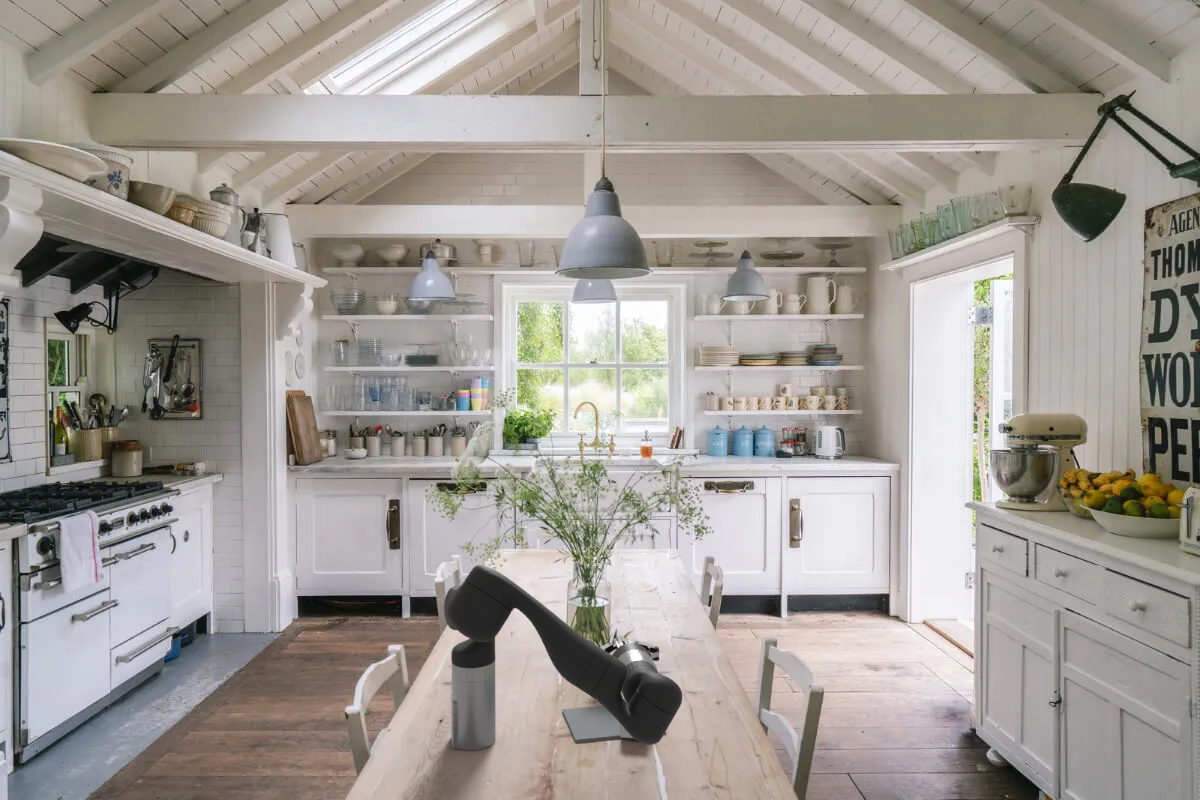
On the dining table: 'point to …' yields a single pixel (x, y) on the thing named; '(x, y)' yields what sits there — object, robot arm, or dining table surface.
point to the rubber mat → (592, 724)
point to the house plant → (603, 637)
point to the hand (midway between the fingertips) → (619, 640)
